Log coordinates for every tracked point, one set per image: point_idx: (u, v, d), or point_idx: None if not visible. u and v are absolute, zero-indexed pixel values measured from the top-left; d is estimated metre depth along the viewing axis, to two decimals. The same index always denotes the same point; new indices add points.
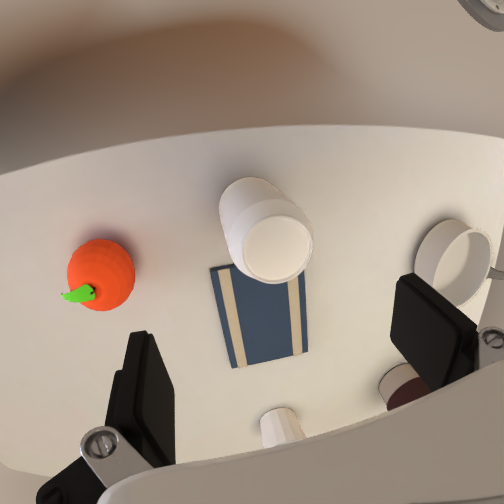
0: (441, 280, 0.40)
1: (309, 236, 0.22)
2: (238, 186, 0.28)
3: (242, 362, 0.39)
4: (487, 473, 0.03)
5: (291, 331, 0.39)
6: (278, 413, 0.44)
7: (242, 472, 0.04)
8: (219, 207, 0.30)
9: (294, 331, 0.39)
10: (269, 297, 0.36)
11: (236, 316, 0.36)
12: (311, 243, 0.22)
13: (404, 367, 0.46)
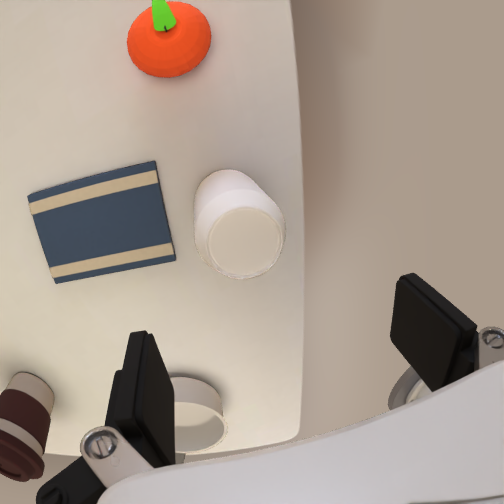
0: None
1: (258, 273, 0.21)
2: None
3: (36, 208, 0.27)
4: (487, 473, 0.03)
5: (80, 261, 0.30)
6: None
7: (242, 472, 0.04)
8: (233, 171, 0.28)
9: (80, 264, 0.30)
10: (122, 230, 0.30)
11: (97, 195, 0.28)
12: (251, 277, 0.21)
13: (50, 394, 0.36)
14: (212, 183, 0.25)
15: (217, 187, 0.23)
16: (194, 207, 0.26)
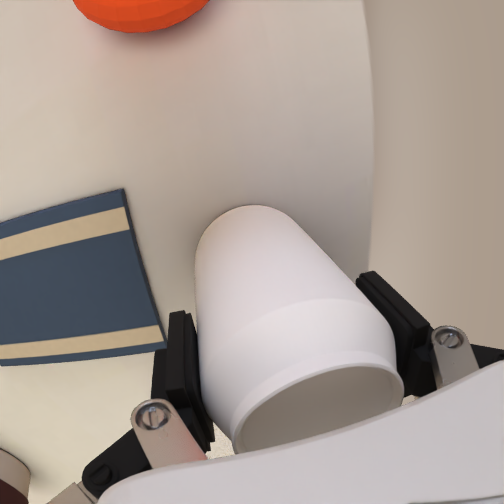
0: None
1: None
2: None
3: None
4: (487, 473, 0.03)
5: (26, 342, 0.17)
6: None
7: (241, 472, 0.04)
8: (266, 210, 0.16)
9: (27, 346, 0.17)
10: (79, 305, 0.17)
11: (33, 249, 0.15)
12: None
13: (25, 472, 0.23)
14: (232, 248, 0.12)
15: (248, 272, 0.10)
16: (195, 288, 0.14)
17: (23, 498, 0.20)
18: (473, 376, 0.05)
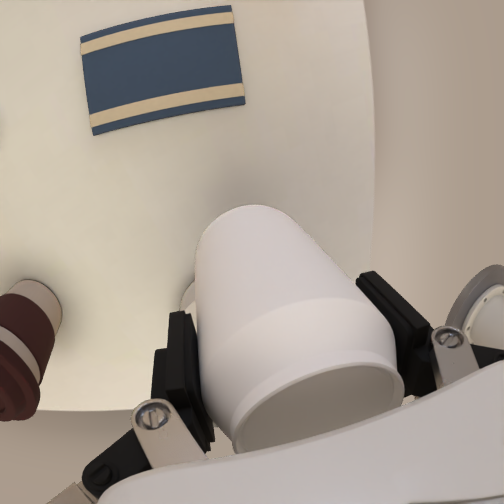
0: None
1: None
2: None
3: (88, 47, 0.22)
4: (487, 473, 0.03)
5: (131, 103, 0.25)
6: None
7: (241, 472, 0.04)
8: (266, 210, 0.15)
9: (130, 107, 0.25)
10: (189, 68, 0.25)
11: (165, 31, 0.23)
12: None
13: (58, 308, 0.31)
14: (232, 248, 0.12)
15: (248, 272, 0.10)
16: (195, 287, 0.14)
17: (52, 329, 0.27)
18: (473, 376, 0.05)
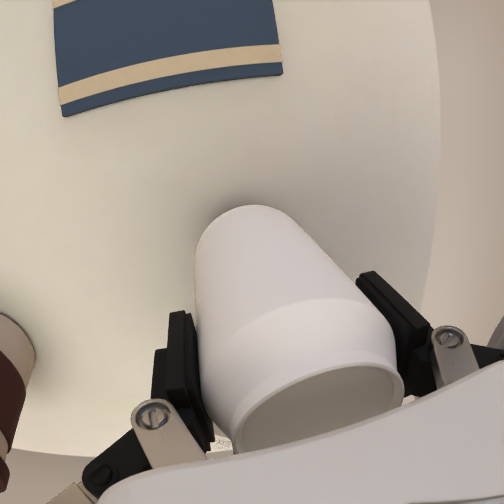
0: None
1: None
2: None
3: None
4: (487, 473, 0.03)
5: (117, 70, 0.16)
6: None
7: (241, 472, 0.04)
8: (266, 210, 0.15)
9: (116, 74, 0.16)
10: (203, 20, 0.16)
11: None
12: None
13: (29, 349, 0.22)
14: (232, 248, 0.12)
15: (248, 272, 0.10)
16: (195, 287, 0.14)
17: (19, 381, 0.18)
18: (473, 376, 0.05)
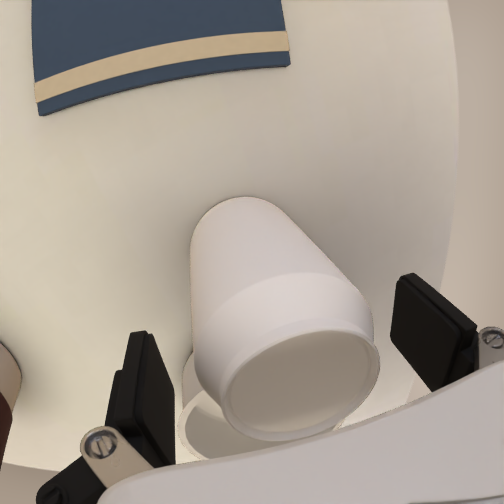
0: None
1: (321, 428, 0.10)
2: None
3: None
4: (487, 473, 0.03)
5: (99, 61, 0.13)
6: None
7: (242, 472, 0.04)
8: (256, 201, 0.17)
9: (98, 66, 0.13)
10: (198, 4, 0.13)
11: None
12: (308, 434, 0.10)
13: (14, 369, 0.19)
14: (223, 234, 0.13)
15: (237, 253, 0.11)
16: (190, 272, 0.15)
17: (4, 405, 0.16)
18: (473, 376, 0.05)
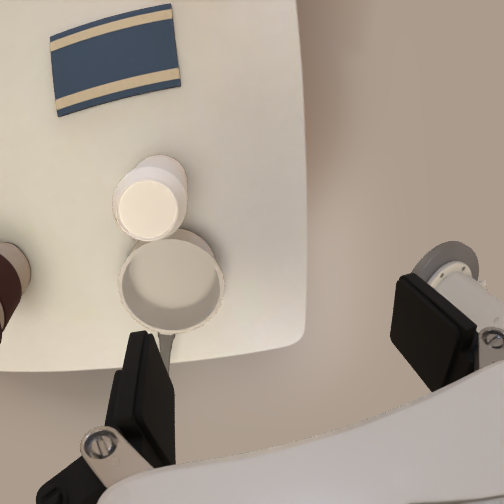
0: (142, 277, 0.37)
1: (160, 236, 0.24)
2: (183, 171, 0.31)
3: (56, 45, 0.25)
4: (487, 473, 0.03)
5: (88, 89, 0.28)
6: None
7: (242, 472, 0.04)
8: (161, 155, 0.31)
9: (87, 92, 0.28)
10: (134, 58, 0.28)
11: (116, 29, 0.26)
12: (154, 239, 0.24)
13: (27, 267, 0.33)
14: (136, 165, 0.28)
15: (135, 167, 0.26)
16: None
17: (19, 282, 0.30)
18: (473, 376, 0.05)
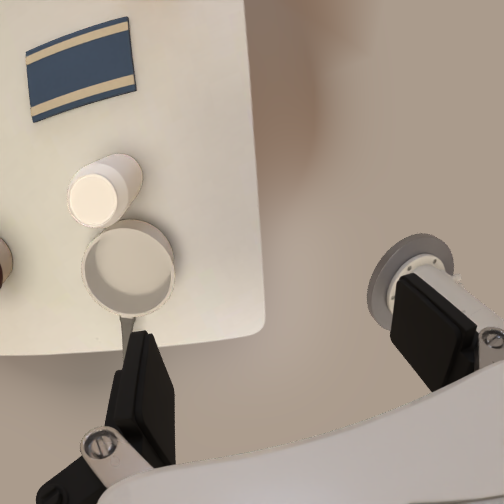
0: (107, 265, 0.39)
1: (103, 223, 0.27)
2: (135, 167, 0.33)
3: (31, 59, 0.27)
4: (487, 473, 0.03)
5: (57, 97, 0.30)
6: None
7: (241, 472, 0.04)
8: (118, 154, 0.34)
9: (57, 100, 0.30)
10: (95, 68, 0.30)
11: (80, 42, 0.28)
12: (98, 225, 0.27)
13: (9, 256, 0.36)
14: None
15: None
16: None
17: (0, 269, 0.33)
18: (473, 376, 0.05)
